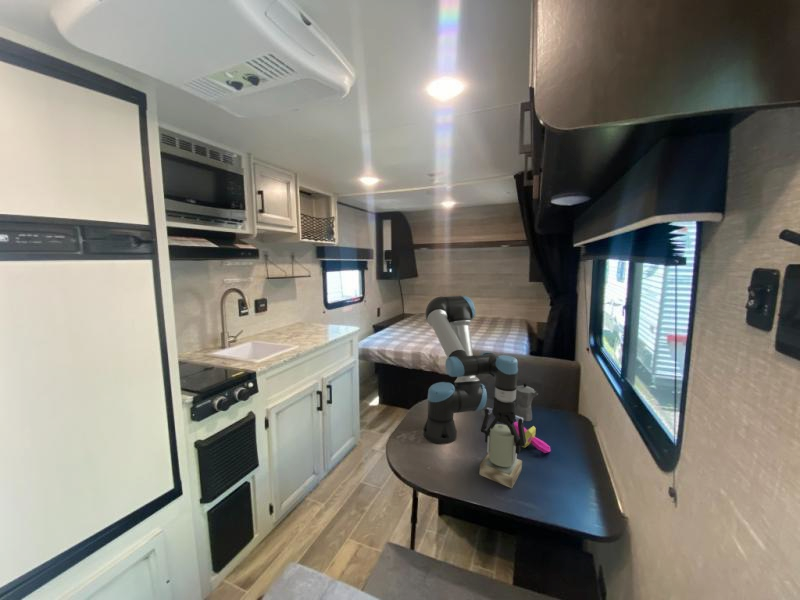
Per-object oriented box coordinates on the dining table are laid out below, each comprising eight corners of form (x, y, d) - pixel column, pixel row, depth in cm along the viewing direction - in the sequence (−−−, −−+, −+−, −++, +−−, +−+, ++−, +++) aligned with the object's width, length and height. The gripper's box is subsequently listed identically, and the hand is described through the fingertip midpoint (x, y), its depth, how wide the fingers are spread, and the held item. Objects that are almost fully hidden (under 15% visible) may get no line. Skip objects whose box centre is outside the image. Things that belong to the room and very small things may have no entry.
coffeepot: (539, 418, 161) (542, 384, 159) (531, 425, 155) (534, 390, 152) (510, 408, 172) (512, 376, 170) (502, 414, 165) (504, 381, 163)
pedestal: (479, 474, 119) (479, 464, 119) (490, 458, 129) (491, 448, 128) (511, 488, 112) (512, 477, 112) (521, 470, 122) (522, 459, 121)
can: (510, 452, 124) (511, 423, 122) (517, 467, 115) (519, 436, 113) (486, 451, 124) (487, 422, 123) (492, 466, 115) (493, 435, 114)
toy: (541, 463, 127) (554, 441, 127) (501, 434, 138) (512, 413, 138) (545, 461, 135) (557, 439, 135) (507, 433, 146) (518, 414, 146)
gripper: (472, 394, 120) (470, 449, 123) (533, 410, 107) (529, 472, 110) (480, 387, 126) (478, 441, 129) (538, 402, 113) (534, 461, 116)
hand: (501, 455), depth 120 cm, fingers closed on can, 9 cm apart
